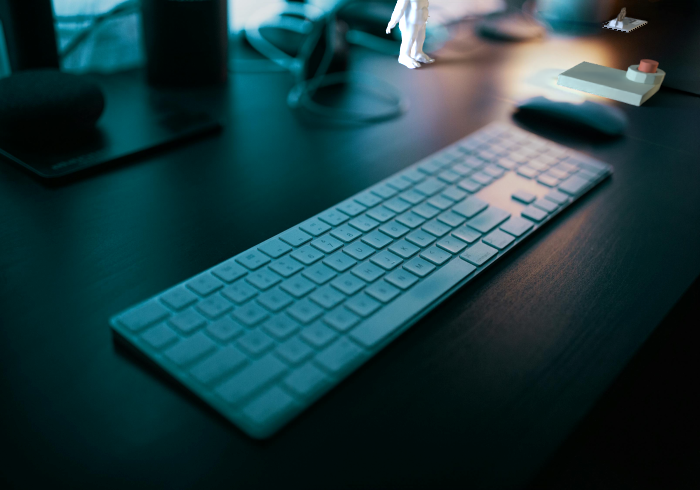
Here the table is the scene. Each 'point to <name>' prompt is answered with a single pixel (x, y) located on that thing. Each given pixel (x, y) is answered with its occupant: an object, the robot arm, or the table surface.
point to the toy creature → (411, 30)
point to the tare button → (648, 66)
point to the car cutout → (624, 22)
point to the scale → (613, 82)
